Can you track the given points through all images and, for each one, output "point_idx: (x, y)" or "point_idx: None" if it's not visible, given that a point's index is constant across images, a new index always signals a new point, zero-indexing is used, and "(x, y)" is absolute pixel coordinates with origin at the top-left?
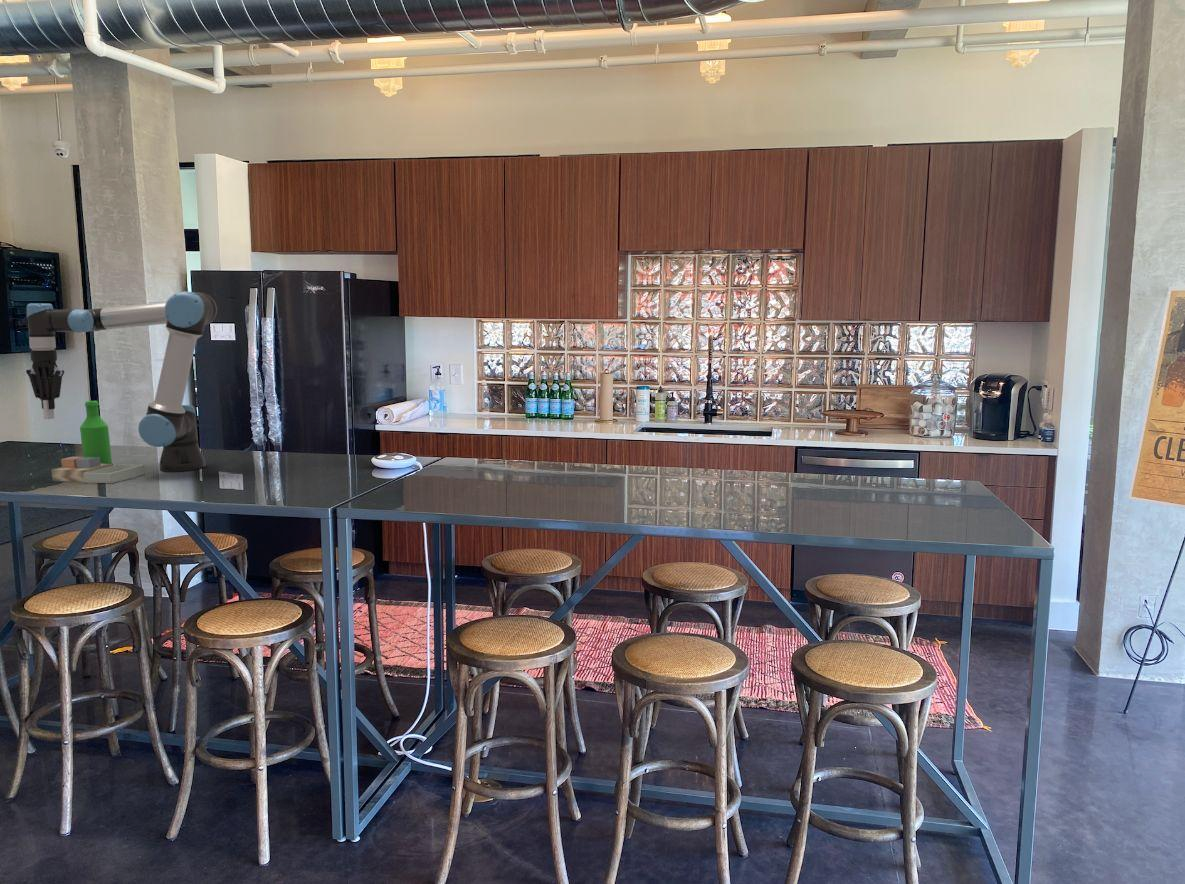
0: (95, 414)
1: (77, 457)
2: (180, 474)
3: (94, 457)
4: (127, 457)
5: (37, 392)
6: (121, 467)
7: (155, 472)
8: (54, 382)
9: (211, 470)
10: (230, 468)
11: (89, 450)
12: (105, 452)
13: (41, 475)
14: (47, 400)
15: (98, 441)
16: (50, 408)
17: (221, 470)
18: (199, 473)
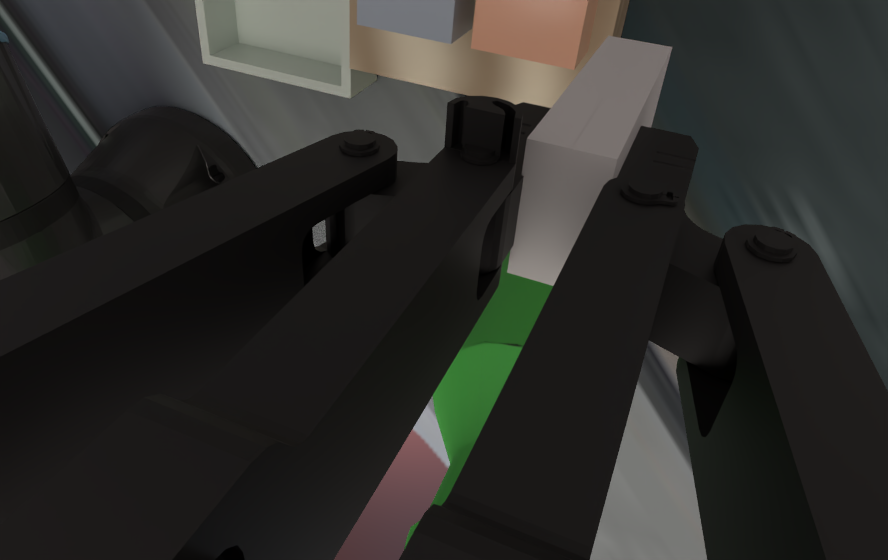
0: (449, 466)
1: (507, 21)
2: (93, 41)
3: (381, 10)
4: (612, 507)
5: (738, 304)
6: (332, 77)
7: (233, 106)
8: (53, 291)
9: (53, 125)
10: None
11: None
12: None
13: (881, 86)
14: (526, 159)
15: None
16: (531, 107)
17: None
18: (42, 59)
